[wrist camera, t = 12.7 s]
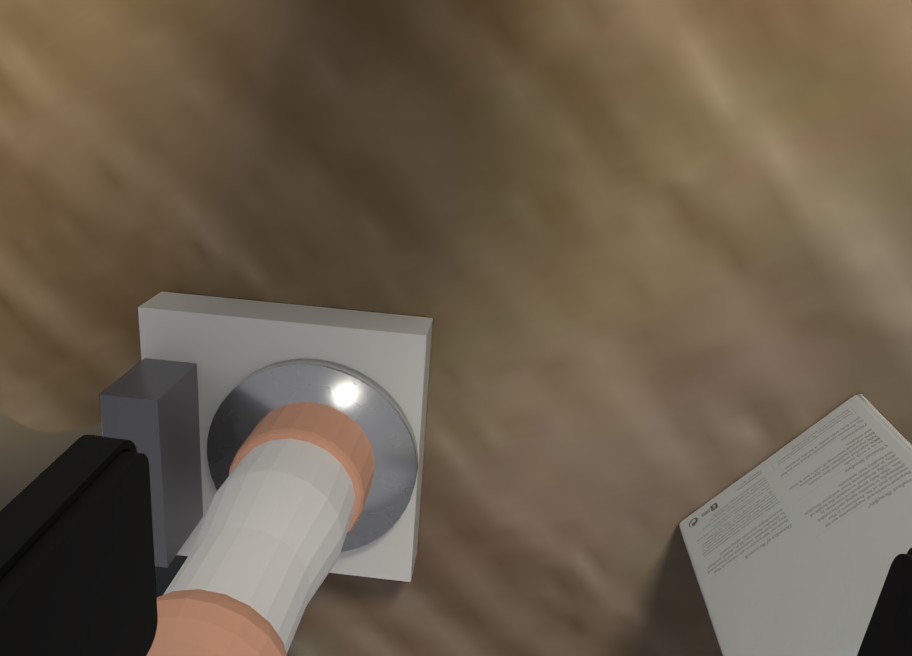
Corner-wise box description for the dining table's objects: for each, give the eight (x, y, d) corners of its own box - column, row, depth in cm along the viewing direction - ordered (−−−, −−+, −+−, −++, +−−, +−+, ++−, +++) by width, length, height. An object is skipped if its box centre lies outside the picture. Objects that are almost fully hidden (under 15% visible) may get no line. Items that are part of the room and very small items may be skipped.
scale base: (432, 317, 45) (414, 371, 37) (417, 552, 50) (398, 640, 43) (157, 291, 46) (85, 337, 38) (170, 524, 51) (109, 605, 44)
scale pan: (424, 369, 43) (422, 376, 42) (412, 554, 47) (410, 564, 46) (210, 348, 43) (203, 354, 42) (216, 531, 47) (210, 541, 46)
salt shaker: (349, 387, 42) (219, 634, 24) (393, 500, 44) (303, 804, 26) (228, 419, 44) (19, 676, 26) (277, 527, 46) (115, 835, 28)
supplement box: (807, 653, 50) (944, 943, 34) (673, 521, 48) (751, 765, 32) (992, 535, 47) (1249, 798, 30) (857, 386, 44) (1055, 584, 28)
